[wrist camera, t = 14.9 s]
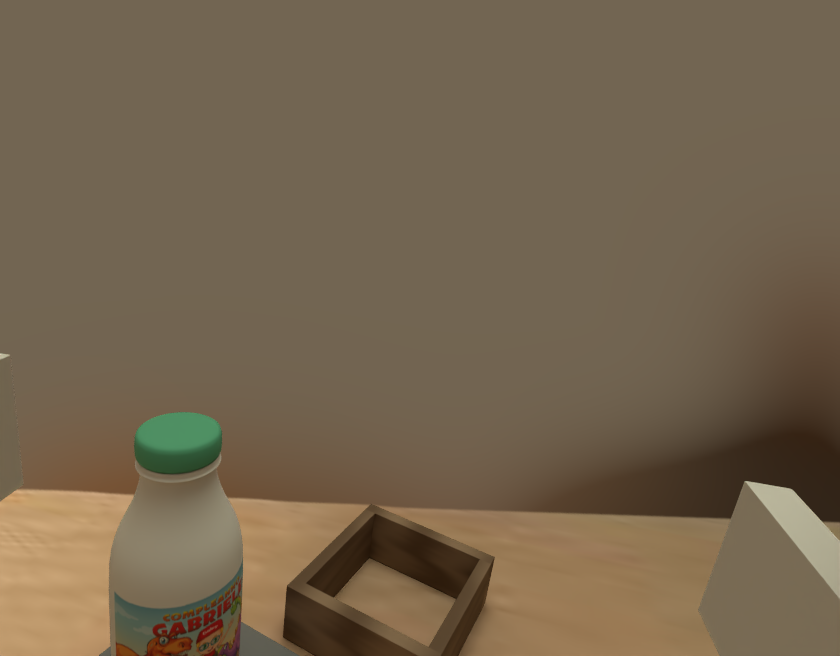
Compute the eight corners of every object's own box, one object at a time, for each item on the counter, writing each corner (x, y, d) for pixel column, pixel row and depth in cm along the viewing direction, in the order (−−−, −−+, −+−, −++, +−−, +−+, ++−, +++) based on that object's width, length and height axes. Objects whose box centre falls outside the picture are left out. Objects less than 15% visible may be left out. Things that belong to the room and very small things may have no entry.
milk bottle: (85, 707, 36) (68, 432, 30) (182, 625, 43) (184, 387, 37) (173, 773, 33) (173, 483, 27) (261, 674, 40) (277, 424, 34)
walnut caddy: (484, 602, 50) (494, 557, 49) (425, 718, 39) (435, 664, 38) (365, 547, 55) (371, 504, 53) (283, 636, 44) (286, 586, 42)
